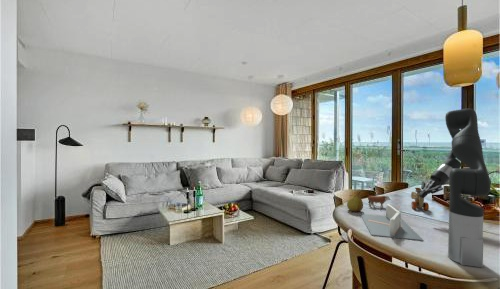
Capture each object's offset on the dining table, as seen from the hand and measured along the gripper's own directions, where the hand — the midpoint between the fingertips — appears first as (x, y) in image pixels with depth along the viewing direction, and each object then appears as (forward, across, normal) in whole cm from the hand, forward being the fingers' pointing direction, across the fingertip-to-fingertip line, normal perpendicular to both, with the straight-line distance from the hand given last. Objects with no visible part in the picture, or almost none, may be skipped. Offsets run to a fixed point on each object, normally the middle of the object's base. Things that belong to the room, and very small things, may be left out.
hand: (421, 196), depth 132 cm
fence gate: (+21, +3, -4) cm, 22 cm away
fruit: (+29, -18, -11) cm, 36 cm away
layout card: (+26, +8, -8) cm, 29 cm away
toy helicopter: (-3, -24, +21) cm, 32 cm away
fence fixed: (+27, +16, -9) cm, 32 cm away
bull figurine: (+15, -25, +3) cm, 30 cm away
